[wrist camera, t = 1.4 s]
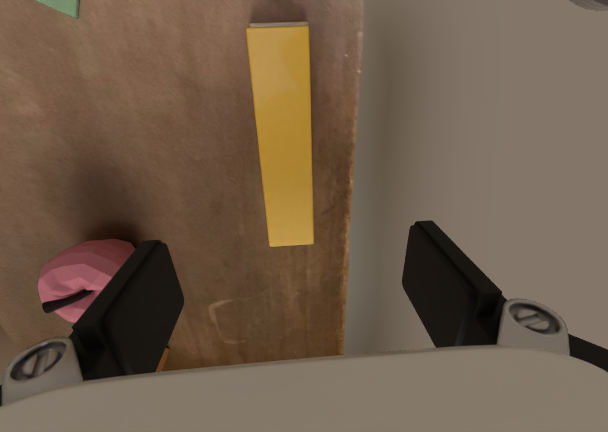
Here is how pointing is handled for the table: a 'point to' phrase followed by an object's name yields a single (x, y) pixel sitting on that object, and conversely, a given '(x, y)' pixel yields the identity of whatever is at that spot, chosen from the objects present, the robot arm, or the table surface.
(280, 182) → the bar
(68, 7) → the mat
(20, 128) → the table surface
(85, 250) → the apple
